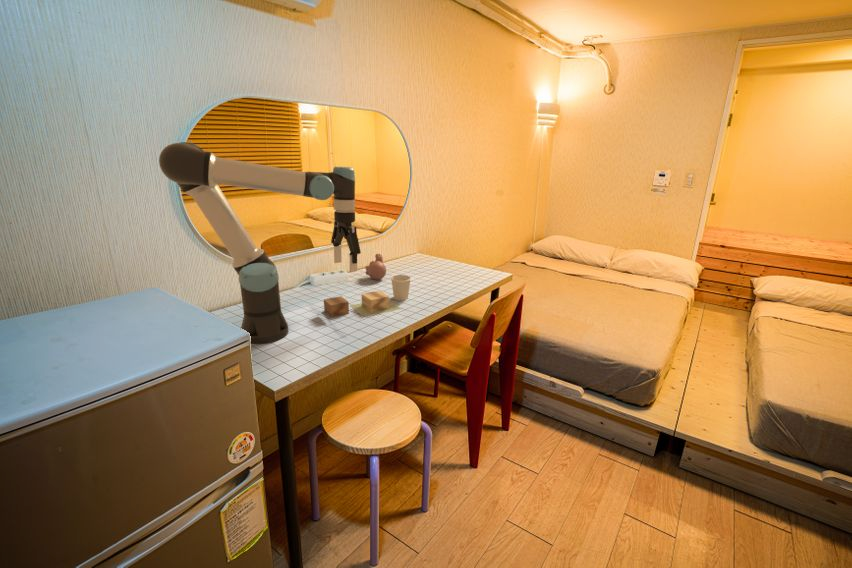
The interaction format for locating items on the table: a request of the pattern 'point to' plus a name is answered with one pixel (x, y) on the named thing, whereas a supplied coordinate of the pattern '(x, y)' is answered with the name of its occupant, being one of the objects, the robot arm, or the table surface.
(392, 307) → the build plate
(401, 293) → the dixie cup
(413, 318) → the table surface
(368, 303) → the oak block
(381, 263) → the figurine
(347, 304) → the walnut block
